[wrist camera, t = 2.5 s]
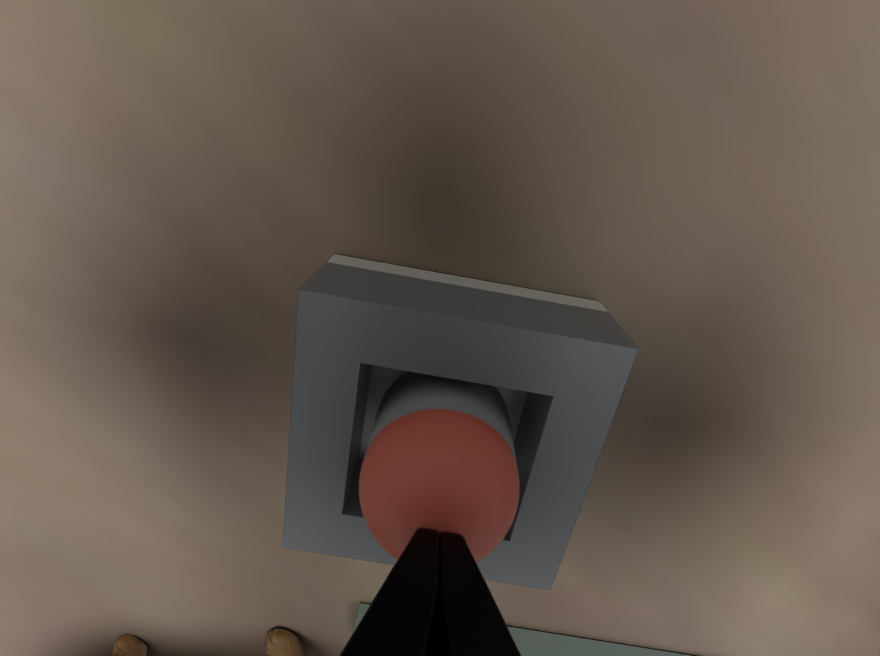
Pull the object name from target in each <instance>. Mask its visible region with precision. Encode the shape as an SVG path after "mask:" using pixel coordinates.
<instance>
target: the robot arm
mask: <svg viewBox="0 0 880 656" xmlns="http://www.w3.org/2000/svg"><path fill="white" fill-rule="evenodd" d="M339 656H521V654H520V652H519V650H518V648H517V646H516V644H515V642H514V640H513V638H512V636H511V634H510V631H509V629H508V627H507V625H506V623H505V621H504V619H503V617H502V615H501V613H500V611H499V609H498V607H497V605H496V603H495V600H494V598H493V596H492V594H491V592H490V590H489V588H488V586H487V584H486V582H485V580H484V578H483V576H482V574H481V572H480V570H479V567H478V565H477V563H476V561H475V559H474V557H473V555H472V553H471V551H470V549H469V547H468V545H467V543H466V541H465V539H464V537H463V536H462V535H461V534H459V533H453V532H447V531H442V532H441V533H440V534H439V531H438V530H434V529H428V528H422V527H419V528H417V529H416V531H415V532H414V534H413V536H412V537H411V539H410V541H409V542H408V544H407V545H406V547H405V549H404V550H403V552H402V554H401V555H400V557H399V559H398V560H397V562H396V564H395V565H394V567H393V568H392V570H391V572H390V573H389V575H388V577H387V578H386V580H385V582H384V583H383V585H382V587H381V588H380V590H379V591H378V593H377V595H376V596H375V598H374V600H373V601H372V603H371V605H370V606H369V608H368V609H367V611H366V613H365V614H364V616H363V618H362V619H361V621H360V623H359V624H358V626H357V628H356V629H355V631H354V632H353V634H352V636H351V637H350V639H349V641H348V642H347V644H346V646H345V647H344V649H343V651H342V652H341V654H340V655H339Z"/></svg>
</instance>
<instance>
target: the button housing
mask: <svg viewBox="0 0 880 656" xmlns="http://www.w3.org/2000/svg"><path fill="white" fill-rule="evenodd" d="M637 351H638V348H637V347H636V346H635V345H634V343H633V342H632V341H631V340H630V338H629V337H628V336H627V335H626V333H625V332H624V331H623V330H622V329H621V327H620V326H619V325H618V324H617V322H616V321H615V320H614V319H613V317H612V316H611V315H610V314H609V312H608V311H607V310H606V309H605V308H604V306H603V305H602V304H601V303H600V301H595V300H589V299H583V298H578V297H572V296H567V295H561V294H555V293H550V292H544V291H539V290H533V289H527V288H522V287H516V286H510V285H505V284H499V283H494V282H488V281H482V280H477V279H471V278H466V277H460V276H454V275H449V274H443V273H437V272H432V271H426V270H421V269H415V268H409V267H404V266H398V265H393V264H387V263H381V262H376V261H370V260H364V259H359V258H353V257H348V256H342V255H336V254H334V255H333V256H332V257H331V258H330V259H329V260H328V261H327V262H326V263H325V264H324V265H323V266H322V267H321V268H320V269H319V270H318V271H317V272H316V273H315V274H314V275H313V276H312V277H311V278H310V279H309V280H308V281H307V282H306V283H305V284H304V285H303V286H302V287H301V288H300V289H299V293H298V308H297V324H296V340H295V356H294V372H293V388H292V404H291V420H290V435H289V451H288V467H287V483H286V499H285V515H284V531H283V547H285V548H291V549H297V550H303V551H309V552H316V553H322V554H328V555H334V556H341V557H347V558H353V559H359V560H365V561H372V562H378V563H384V564H390V565H395V564H396V562H397V559H395V558H394V557H392V556H391V555H390V554H389V553H388V552H386V551H385V550H384V549H383V548H382V547H381V546H380V544H379V543H378V542H377V541H376V539H375V538H374V536H373V535H372V533H371V532H370V530H369V528H368V526H367V524H366V521H365V519H364V517H363V513H362V509H361V505H360V498H359V477H360V471H361V467H362V462H363V460H364V456H365V452H366V449H367V445H368V442H369V439H370V435H371V432H372V429H373V425H374V422H375V418H376V415H377V412H378V408H379V405H380V402H381V400H382V398H383V396H384V394H385V392H386V391H387V390H388V388H389V387H390V386H391V385H392V384H393V383H394V382H395V381H396V380H397V379H398V378H400V377H401V376H403V375H404V374H406V373H408V372H415V373H421V374H427V375H433V376H439V377H444V378H450V379H456V380H462V381H468V382H473V383H479V384H485V385H491V386H495V387H496V389H497V390H498V391H499V392H500V394H501V396H502V397H503V399H504V401H505V403H506V406H507V410H508V414H509V420H510V426H511V432H512V438H513V444H514V450H515V456H516V462H517V469H518V474H519V485H520V490H519V501H518V507H517V511H516V514H515V517H514V520H513V522H512V525H511V527H510V528H509V530H508V532H507V534H506V535H505V537H504V539H503V540H502V541H501V542H500V544H499V545H498V546H497V547H496V548H495V549H494V550H493V551H492V552H491V553H490V554H489V555H487V556H486V557H485V558H483V559H482V560H480V561H478V562H477V565H478V567H479V570H480V572H481V574H482V576H483V578H484V580H490V581H496V582H502V583H508V584H514V585H521V586H527V587H533V588H539V589H546V590H551V588H552V585H553V582H554V580H555V577H556V574H557V571H558V569H559V566H560V563H561V560H562V558H563V555H564V552H565V549H566V547H567V544H568V541H569V538H570V536H571V533H572V530H573V527H574V525H575V522H576V519H577V516H578V514H579V511H580V508H581V505H582V503H583V500H584V497H585V494H586V492H587V489H588V486H589V483H590V481H591V478H592V475H593V472H594V470H595V467H596V464H597V461H598V459H599V456H600V453H601V450H602V448H603V445H604V442H605V439H606V437H607V434H608V431H609V428H610V426H611V423H612V420H613V417H614V415H615V412H616V409H617V406H618V404H619V401H620V398H621V395H622V393H623V390H624V387H625V384H626V382H627V379H628V376H629V373H630V371H631V368H632V365H633V362H634V360H635V357H636V354H637Z"/></svg>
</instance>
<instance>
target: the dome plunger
mask: <svg viewBox="0 0 880 656" xmlns="http://www.w3.org/2000/svg"><path fill="white" fill-rule="evenodd" d="M519 490H520V485H519V474H518V469H517V462H516V456H515V450H514V444H513V438H512V432H511V426H510V420H509V414H508V410H507V406H506V403H505V401H504V399H503V397H502V396H501V394H500V392H499V391H498V390H497V389H496V387H495V386H491V385H485V384H479V383H473V382H468V381H462V380H456V379H450V378H444V377H439V376H433V375H427V374H421V373H415V372H408V373H406V374H404V375H403V376H401V377H400V378H398V379H397V380H396V381H395V382H394V383H393V384H392V385H391V386H390V387H389V388H388V390H387V391H386V392H385V394H384V396H383V398H382V400H381V402H380V405H379V408H378V412H377V415H376V418H375V422H374V425H373V429H372V432H371V435H370V439H369V442H368V445H367V449H366V452H365V456H364V460H363V462H362V467H361V471H360V477H359V498H360V505H361V509H362V513H363V517H364V519H365V521H366V524H367V526H368V528H369V530H370V532H371V533H372V535H373V536H374V538H375V539H376V541H377V542H378V543H379V544H380V546H381V547H382V548H383V549H384V550H385V551H386V552H388V553H389V554H390V555H391V556H392V557H394V558H395V559H397V560H398V559H399V557H400V555H401V554H402V552H403V550H404V549H405V547H406V545H407V544H408V542H409V541H410V539H411V537H412V536H413V534H414V532H415V531H416V529H417V528H419V527H422V528H428V529H434V530H438V531H439V534H440V533H441V532H442V531H447V532H453V533H459V534H461V535H462V536H463V537H464V539H465V541H466V543H467V545H468V547H469V549H470V551H471V553H472V555H473V557H474V559H475V561H476V563H477V562H478V561H480V560H482V559H483V558H485V557H486V556H487V555H489V554H490V553H491V552H492V551H493V550H494V549H495V548H496V547H497V546H498V545H499V544H500V542H501V541H502V540H503V539H504V537H505V535H506V534H507V532H508V530H509V528H510V527H511V525H512V522H513V520H514V517H515V514H516V511H517V507H518V501H519Z"/></svg>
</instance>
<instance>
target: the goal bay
mask: <svg viewBox="0 0 880 656" xmlns="http://www.w3.org/2000/svg"><path fill="white" fill-rule="evenodd" d="M369 606H370V605H369V604H363V603H360V604H359V608H358V613H357V618H356V622H355V627H354V631H355V629H356V628H357V626H358V624H359V623H360V621H361V619H362V618H363V616H364V614H365V613H366V611H367V609H368V608H369ZM507 627H508V626H507ZM508 629H509V631H510V634H511V636H512V638H513V640H514V642H515V644H516V646H517V648H518V650H519V652H520V654H521V656H691V655H685V654H679V653H672V652H666V651H660V650H653V649H647V648H641V647H634V646H628V645H622V644H615V643H609V642H603V641H597V640H590V639H584V638H578V637H571V636H565V635H559V634H552V633H546V632H540V631H533V630H527V629H521V628H514V627H508Z"/></svg>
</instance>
